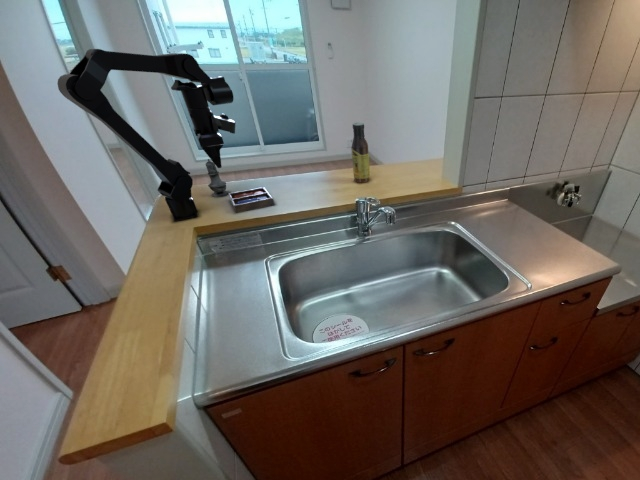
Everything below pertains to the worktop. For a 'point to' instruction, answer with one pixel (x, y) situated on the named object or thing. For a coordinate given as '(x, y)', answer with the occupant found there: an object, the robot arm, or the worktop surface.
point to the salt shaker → (216, 181)
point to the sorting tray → (252, 204)
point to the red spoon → (248, 194)
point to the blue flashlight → (252, 200)
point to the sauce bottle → (360, 154)
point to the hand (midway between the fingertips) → (217, 164)
